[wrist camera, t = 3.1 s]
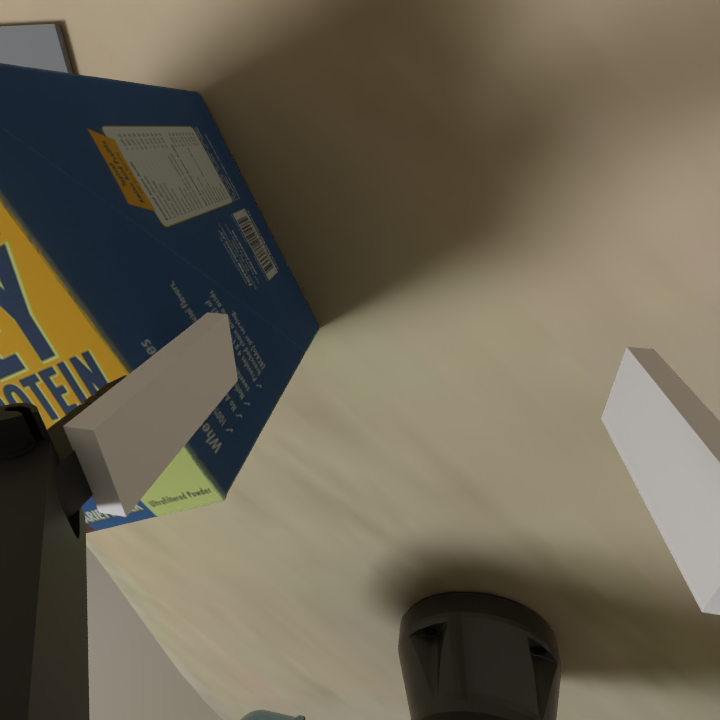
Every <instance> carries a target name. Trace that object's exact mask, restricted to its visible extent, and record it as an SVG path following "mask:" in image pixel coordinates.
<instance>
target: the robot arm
mask: <svg viewBox="0 0 720 720" xmlns="http://www.w3.org/2000/svg"><path fill="white" fill-rule="evenodd" d="M237 381H238V378H237V371H236V365H235V358H234V352H233V345H232V339H231V333H230V326H229V320H228V314H220V313H206V314H205V315H204V316H202V317H201V318H200V319H199V320H197V321H196V322H195V323H194V324H192V325H191V326H190V327H188V328H187V329H186V330H185V331H183V332H182V333H181V334H180V335H178V336H177V337H176V338H175V339H173V340H172V341H171V342H169V343H168V344H167V345H166V346H164V347H163V348H162V349H161V350H159V351H158V352H157V353H155V354H154V355H153V356H152V357H150V358H149V359H148V360H147V361H145V362H144V363H143V364H142V365H140V366H139V367H138V368H136V369H135V370H134V371H133V372H131V373H130V374H129V375H128V376H127V375H125V376H122V377H120V378H118V379H116V380H114V381H112V382H109V383H107V384H106V385H105V386H103V387H102V388H101V389H99V390H98V391H97V392H95V393H94V396H90V397H89V398H88V399H86V400H85V401H84V402H83V404H82V405H81V404H80V405H78V406H77V407H76V408H75V409H73V410H72V411H71V412H69V413H68V414H67V415H65V416H64V417H63V418H61V419H60V420H59V421H58V422H56V423H55V424H54V425H52V426H51V427H50V428H48V429H46V426H45V424H44V422H43V420H42V417H41V415H40V413H39V411H38V408H37V406H35V405H33V404H30V403H15V404H8V405H4V406H1V407H0V720H89V679H88V627H87V579H86V578H87V575H86V524H85V515H84V512H83V510H82V508H81V507H82V506H83V505H84V504H85V503H86V502H87V500H88V499H89V498H90V497H91V496H92V497H93V499H94V502H95V504H96V506H97V509H98V511H99V513H105V514H111V515H117V516H123V517H127V515H128V514H129V513H130V512H131V510H132V509H133V508H134V507H135V506H136V504H137V503H138V502H139V501H140V499H141V498H142V497H143V496H144V495H145V493H146V492H147V491H148V490H149V488H150V487H151V486H152V485H153V484H154V482H155V481H156V480H157V479H158V477H159V476H160V475H161V474H162V473H163V471H164V470H165V469H166V468H167V466H168V465H169V464H170V463H171V461H172V460H173V459H174V458H175V457H176V455H177V454H178V453H179V452H180V450H181V449H182V448H183V447H184V446H185V444H186V443H187V442H188V441H189V439H190V438H191V437H192V436H193V435H194V433H195V432H196V431H197V430H198V428H199V427H200V426H201V425H202V424H203V422H204V421H205V420H206V419H207V417H208V416H209V415H210V414H211V413H212V411H213V410H214V409H215V408H216V406H217V405H218V404H219V403H220V401H221V400H222V399H223V398H224V397H225V395H226V394H227V393H228V392H229V390H230V389H231V388H232V387H233V386H234V384H235V383H236V382H237ZM601 420H602V421H603V423H604V425H605V427H606V429H607V431H608V433H609V435H610V437H611V439H612V441H613V443H614V444H615V446H616V448H617V450H618V452H619V454H620V456H621V458H622V460H623V462H624V464H625V466H626V468H627V469H628V471H629V473H630V475H631V477H632V479H633V481H634V483H635V485H636V487H637V489H638V491H639V492H640V494H641V496H642V498H643V500H644V502H645V504H646V506H647V508H648V510H649V512H650V514H651V516H652V517H653V519H654V521H655V523H656V525H657V527H658V529H659V531H660V533H661V535H662V537H663V539H664V540H665V542H666V544H667V546H668V548H669V550H670V552H671V554H672V556H673V558H674V560H675V562H676V563H677V565H678V567H679V569H680V571H681V573H682V575H683V577H684V579H685V581H686V583H687V585H688V587H689V588H690V590H691V592H692V594H693V596H694V598H695V600H696V602H697V604H698V606H699V608H700V610H701V611H702V612H704V613H710V614H716V615H720V421H719V420H718V419H717V418H716V417H715V416H714V414H713V413H712V412H711V411H710V410H709V409H708V408H707V407H706V406H705V405H704V404H703V402H702V401H701V400H700V399H699V398H698V397H697V396H696V395H695V394H694V393H693V391H692V390H691V389H690V388H689V387H688V386H687V385H686V384H685V383H684V382H683V381H682V379H681V378H680V377H679V376H678V375H677V374H676V373H675V372H674V371H673V370H672V369H671V367H670V366H669V365H668V364H667V363H666V362H665V361H664V360H663V359H662V358H661V357H660V355H659V354H658V353H657V352H656V351H655V350H654V349H646V348H634V347H626V350H625V353H624V356H623V359H622V362H621V364H620V367H619V370H618V373H617V376H616V378H615V381H614V384H613V387H612V390H611V393H610V395H609V398H608V401H607V404H606V407H605V410H604V412H603V415H602V418H601ZM398 651H399V659H400V664H401V669H402V674H403V679H404V684H405V689H406V695H407V700H408V705H409V710H410V715H411V720H556V717H557V708H558V698H559V688H560V678H561V662H560V657H559V652H558V648H557V643H556V638H555V636H554V633H553V631H552V630H551V628H550V627H549V626H548V624H547V623H546V622H545V621H544V620H543V619H542V618H540V617H539V616H538V615H537V614H535V613H534V612H532V611H531V610H529V609H527V608H525V607H523V606H521V605H519V604H517V603H514V602H512V601H509V600H506V599H503V598H499V597H495V596H490V595H485V594H477V593H450V594H442V595H437V596H434V597H430V598H427V599H425V600H422V601H420V602H418V603H417V604H415V605H414V606H412V607H411V608H410V609H409V610H408V611H407V612H406V613H405V614H404V616H403V618H402V620H401V624H400V633H399V644H398ZM241 720H305V716H302V715H299V716H297V717H293V716H288V715H284V714H279V713H275V712H270V711H266V710H256V711H253V712H250V713H249V714H247V715H246V716H244V717H243V718H242V719H241Z"/></svg>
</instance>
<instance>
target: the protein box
mask: <svg viewBox="0 0 720 720" xmlns="http://www.w3.org/2000/svg"><path fill="white" fill-rule="evenodd" d="M206 313H220V314H228V320H229V326H230V333H231V339H232V345H233V352H234V358H235V365H236V371H237V378H238V381H237V382H236V383H235V384H234V386H233V387H232V388H231V389H230V390H229V392H228V393H227V394H226V395H225V397H224V398H223V399H222V400H221V401H220V403H219V404H218V405H217V406H216V408H215V409H214V410H213V411H212V413H211V414H210V415H209V416H208V417H207V419H206V420H205V421H204V422H203V424H202V425H201V426H200V427H199V428H198V430H197V431H196V432H195V433H194V435H193V436H192V437H191V438H190V439H189V441H188V442H187V443H186V444H185V446H184V447H183V448H182V449H181V450H180V452H179V453H178V454H177V455H176V457H175V458H174V459H173V460H172V461H171V463H170V464H169V465H168V466H167V468H166V469H165V470H164V471H163V473H162V474H161V475H160V476H159V477H158V479H157V480H156V481H155V482H154V484H153V485H152V486H151V487H150V488H149V490H148V491H147V492H146V493H145V495H144V496H143V497H142V498H141V499H140V501H139V502H138V503H137V504H136V506H135V507H134V508H133V509H132V510H131V512H130V513H129V514H128V515H127V517H123V516H117V515H111V514H105V513H99V511H98V509H97V506H96V504H95V502H94V499H93V497H92V496H91V497H90V498H89V499H88V500H87V502H86V503H85V504H84V505H83V506H82V507H81V508H82V510H83V512H84V515H85V524H86V533H89V532H93V531H97V530H101V529H105V528H110V527H114V526H118V525H122V524H126V523H131V522H135V521H139V520H144V519H148V518H152V517H157V516H162V515H167V514H171V513H175V512H179V511H184V510H188V509H192V508H196V507H200V506H205V505H209V504H213V503H218V502H221V501H224V500H225V499H226V496H227V493H228V491H229V489H230V487H231V486H232V484H233V482H234V480H235V478H236V477H237V475H238V473H239V471H240V469H241V468H242V466H243V464H244V462H245V460H246V458H247V457H248V455H249V453H250V451H251V450H252V448H253V446H254V444H255V442H256V440H257V438H258V437H259V435H260V433H261V431H262V429H263V428H264V426H265V424H266V422H267V421H268V419H269V417H270V415H271V413H272V411H273V410H274V408H275V406H276V404H277V403H278V401H279V399H280V397H281V395H282V394H283V392H284V390H285V388H286V387H287V385H288V383H289V381H290V380H291V378H292V376H293V374H294V372H295V371H296V369H297V367H298V365H299V363H300V362H301V360H302V358H303V356H304V354H305V352H306V351H307V349H308V347H309V346H310V344H311V342H312V341H313V339H314V337H315V335H316V333H317V332H318V330H319V326H318V324H317V322H316V320H315V318H314V316H313V314H312V312H311V310H310V308H309V306H308V304H307V302H306V301H305V299H304V297H303V295H302V293H301V291H300V289H299V287H298V285H297V283H296V281H295V279H294V277H293V275H292V273H291V271H290V270H289V268H288V266H287V264H286V262H285V260H284V258H283V256H282V254H281V252H280V250H279V248H278V246H277V244H276V242H275V240H274V238H273V236H272V235H271V233H270V231H269V229H268V226H267V224H266V223H265V221H264V219H263V217H262V215H261V213H260V211H259V209H258V207H257V205H256V203H255V201H254V199H253V197H252V195H251V193H250V191H249V189H248V187H247V185H246V183H245V181H244V179H243V177H242V175H241V173H240V171H239V169H238V167H237V165H236V163H235V161H234V159H233V157H232V155H231V153H230V151H229V150H228V148H227V146H226V144H225V142H224V140H223V138H222V136H221V134H220V132H219V130H218V128H217V126H216V124H215V122H214V120H213V118H212V116H211V115H210V113H209V111H208V109H207V107H206V105H205V103H204V101H203V99H202V97H201V96H200V94H199V93H197V92H196V91H187V90H181V89H173V88H166V87H159V86H152V85H145V84H139V83H133V82H126V81H119V80H112V79H106V78H99V77H91V76H83V75H77V74H71V73H65V72H58V71H51V70H44V69H38V68H30V67H22V66H16V65H10V64H3V63H0V407H1V406H4V405H8V404H15V403H30V404H33V405H35V406H37V408H38V411H39V413H40V415H41V417H42V420H43V422H44V424H45V426H46V429H48V428H50V427H51V426H52V425H54V424H55V423H56V422H58V421H59V420H60V419H61V418H63V417H64V416H65V415H67V414H68V413H69V412H71V411H72V410H73V409H75V408H76V407H77V406H78V405H80V404H81V405H82V404H83V402H84V401H85V400H86V399H88V398H89V397H90V396H94V393H95V392H97V391H98V390H99V389H101V388H102V387H103V386H105V385H106V384H107V383H109V382H112V381H114V380H116V379H118V378H120V377H122V376H125V375H127V376H128V375H129V374H130V373H131V372H133V371H134V370H135V369H136V368H138V367H139V366H140V365H142V364H143V363H144V362H145V361H147V360H148V359H149V358H150V357H152V356H153V355H154V354H155V353H157V352H158V351H159V350H161V349H162V348H163V347H164V346H166V345H167V344H168V343H169V342H171V341H172V340H173V339H175V338H176V337H177V336H178V335H180V334H181V333H182V332H183V331H185V330H186V329H187V328H188V327H190V326H191V325H192V324H194V323H195V322H196V321H197V320H199V319H200V318H201V317H202V316H204V315H205V314H206Z"/></svg>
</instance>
